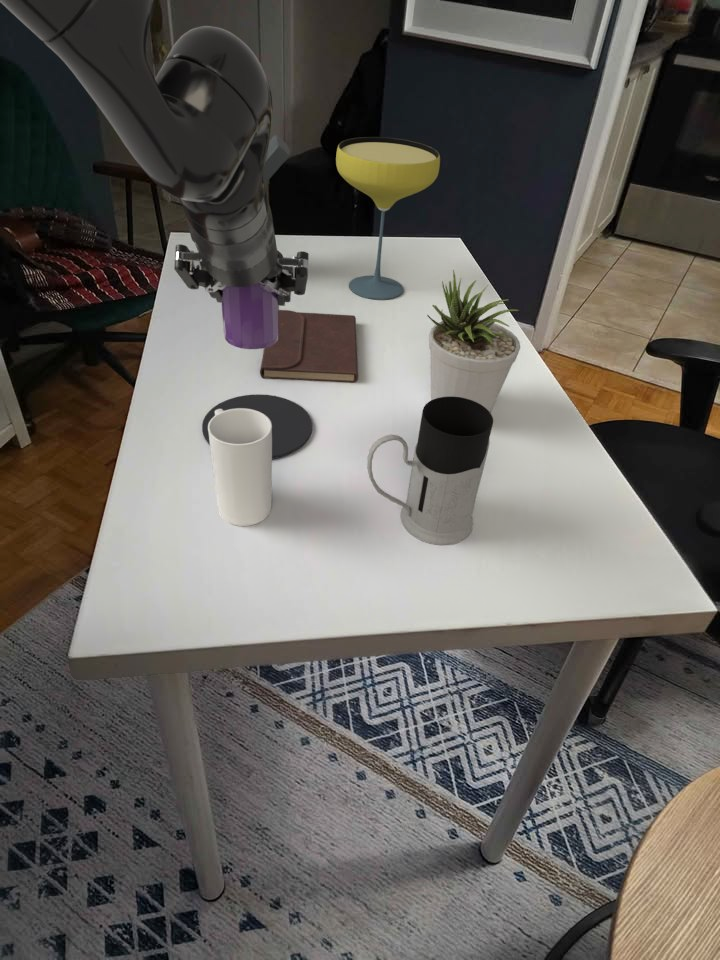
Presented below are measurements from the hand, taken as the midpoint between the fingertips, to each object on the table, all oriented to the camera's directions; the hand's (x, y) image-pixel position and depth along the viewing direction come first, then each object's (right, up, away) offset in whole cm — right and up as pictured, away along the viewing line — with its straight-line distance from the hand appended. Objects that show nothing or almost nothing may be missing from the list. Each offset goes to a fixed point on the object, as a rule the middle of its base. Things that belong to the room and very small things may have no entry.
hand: (251, 296), depth 76 cm
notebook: (+5, 0, +31) cm, 31 cm away
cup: (0, -4, +2) cm, 5 cm away
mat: (-1, -14, +13) cm, 19 cm away
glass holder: (+20, -27, +1) cm, 33 cm away
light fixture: (-10, +20, +53) cm, 57 cm away
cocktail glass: (+16, +16, +51) cm, 56 cm away
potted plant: (+28, -11, +21) cm, 36 cm away
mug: (-2, -24, +1) cm, 24 cm away
